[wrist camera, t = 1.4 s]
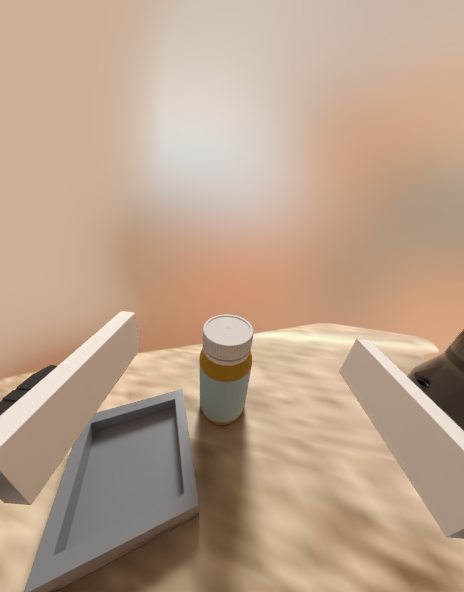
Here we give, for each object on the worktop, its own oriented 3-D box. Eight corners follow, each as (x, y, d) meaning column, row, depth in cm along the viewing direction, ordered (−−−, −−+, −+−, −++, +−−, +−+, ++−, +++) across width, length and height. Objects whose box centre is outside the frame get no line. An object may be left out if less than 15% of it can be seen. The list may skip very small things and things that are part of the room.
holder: (183, 401, 28) (182, 389, 27) (199, 514, 18) (199, 504, 17) (89, 429, 24) (82, 416, 23) (40, 599, 14) (23, 594, 12)
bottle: (249, 394, 30) (263, 322, 23) (233, 436, 24) (245, 357, 18) (214, 377, 33) (216, 307, 26) (191, 413, 27) (187, 335, 20)
